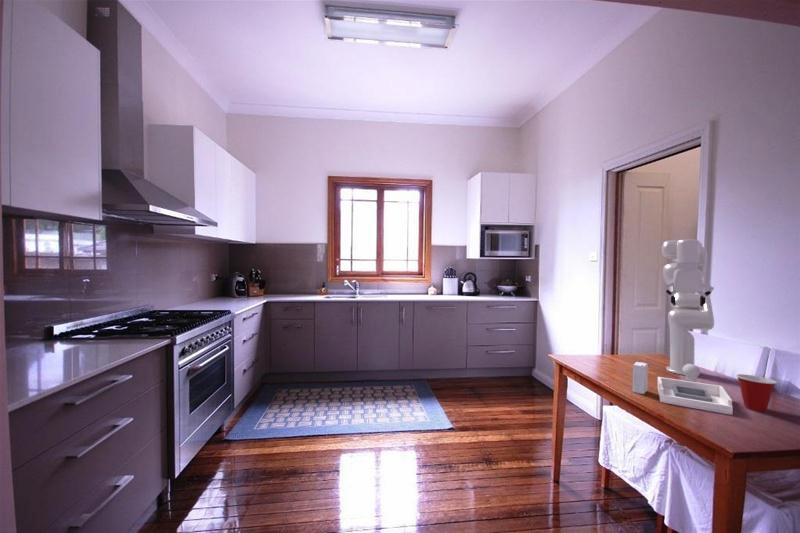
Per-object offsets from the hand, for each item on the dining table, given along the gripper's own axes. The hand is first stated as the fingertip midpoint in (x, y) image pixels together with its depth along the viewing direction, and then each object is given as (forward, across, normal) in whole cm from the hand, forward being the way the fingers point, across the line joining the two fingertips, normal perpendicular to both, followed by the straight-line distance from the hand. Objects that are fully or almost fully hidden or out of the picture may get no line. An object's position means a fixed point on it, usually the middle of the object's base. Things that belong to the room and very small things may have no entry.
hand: (687, 305), depth 151 cm
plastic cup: (+37, -18, +15) cm, 44 cm away
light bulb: (+37, -2, -2) cm, 37 cm away
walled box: (+37, +1, +17) cm, 40 cm away
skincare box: (+37, +18, +16) cm, 44 cm away
